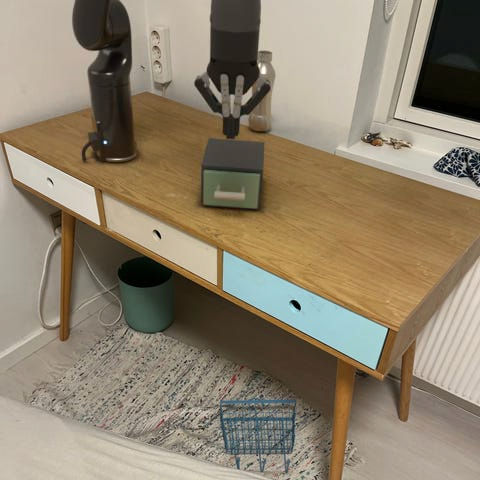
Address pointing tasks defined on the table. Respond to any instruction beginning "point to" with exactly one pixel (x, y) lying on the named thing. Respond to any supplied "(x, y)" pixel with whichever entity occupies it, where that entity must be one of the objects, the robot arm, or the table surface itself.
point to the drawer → (231, 188)
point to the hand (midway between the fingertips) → (230, 137)
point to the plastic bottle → (262, 112)
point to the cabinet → (233, 160)
